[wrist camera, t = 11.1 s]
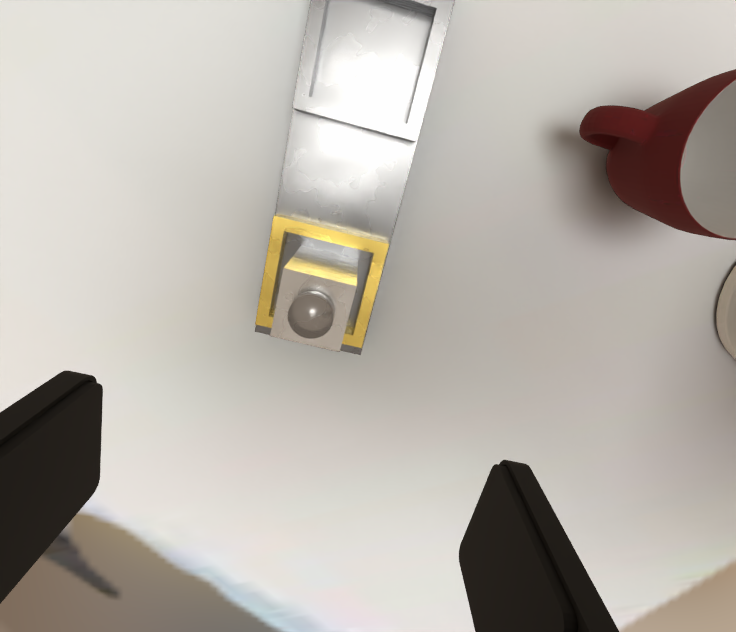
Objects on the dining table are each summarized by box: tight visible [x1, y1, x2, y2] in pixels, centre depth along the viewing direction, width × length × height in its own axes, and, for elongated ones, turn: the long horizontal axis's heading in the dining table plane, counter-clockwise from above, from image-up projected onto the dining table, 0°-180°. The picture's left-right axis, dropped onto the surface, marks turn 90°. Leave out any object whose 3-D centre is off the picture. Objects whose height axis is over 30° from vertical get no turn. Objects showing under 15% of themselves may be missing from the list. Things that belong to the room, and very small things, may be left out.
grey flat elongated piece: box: [255, 0, 455, 355], centre depth 28 cm, size 8×24×4 cm, turn 166°
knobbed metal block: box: [270, 245, 358, 352], centre depth 26 cm, size 4×4×8 cm
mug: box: [579, 69, 736, 240], centre depth 24 cm, size 10×8×10 cm
